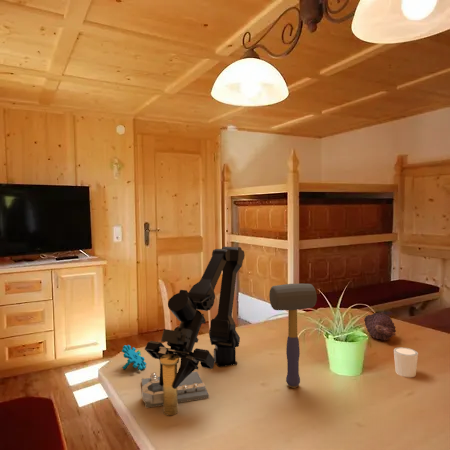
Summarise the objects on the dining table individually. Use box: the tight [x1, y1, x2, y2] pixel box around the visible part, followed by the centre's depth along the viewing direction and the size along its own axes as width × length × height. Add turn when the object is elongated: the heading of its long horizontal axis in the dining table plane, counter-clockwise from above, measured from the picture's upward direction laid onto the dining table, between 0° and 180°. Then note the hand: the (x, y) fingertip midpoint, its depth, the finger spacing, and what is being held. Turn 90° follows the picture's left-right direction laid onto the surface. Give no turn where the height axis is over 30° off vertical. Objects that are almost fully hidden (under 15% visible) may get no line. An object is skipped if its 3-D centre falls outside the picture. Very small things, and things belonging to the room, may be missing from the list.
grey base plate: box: [141, 371, 210, 409], centre depth 107 cm, size 17×15×1 cm
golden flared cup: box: [159, 354, 180, 416], centre depth 95 cm, size 5×5×14 cm
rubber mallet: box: [268, 283, 318, 388], centre depth 107 cm, size 12×8×30 cm, turn 103°
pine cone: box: [363, 312, 397, 341], centre depth 147 cm, size 18×10×10 cm, turn 10°
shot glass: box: [393, 347, 419, 378], centre depth 116 cm, size 7×7×7 cm
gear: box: [121, 344, 147, 371], centre depth 122 cm, size 11×6×10 cm
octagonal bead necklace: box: [141, 372, 207, 404], centre depth 106 cm, size 17×15×2 cm
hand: (167, 386), depth 94 cm, fingers closed on golden flared cup, 4 cm apart
